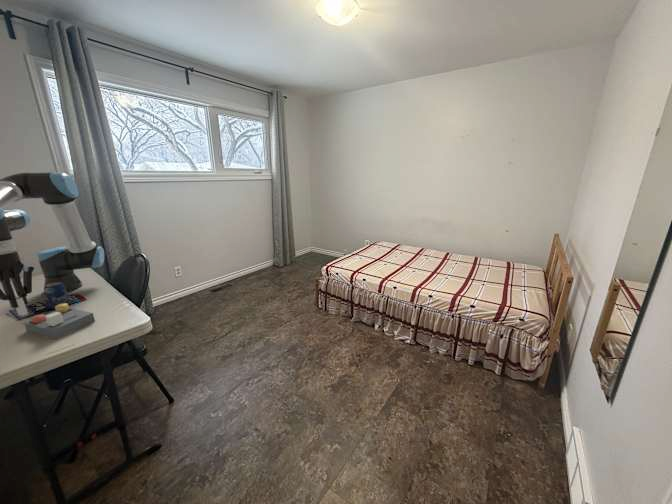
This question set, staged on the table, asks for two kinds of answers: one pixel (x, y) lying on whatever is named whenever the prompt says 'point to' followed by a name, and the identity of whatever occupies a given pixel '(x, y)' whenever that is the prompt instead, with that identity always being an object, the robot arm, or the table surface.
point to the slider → (54, 319)
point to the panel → (61, 324)
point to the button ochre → (62, 308)
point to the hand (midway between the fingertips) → (23, 314)
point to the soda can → (56, 294)
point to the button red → (38, 319)
